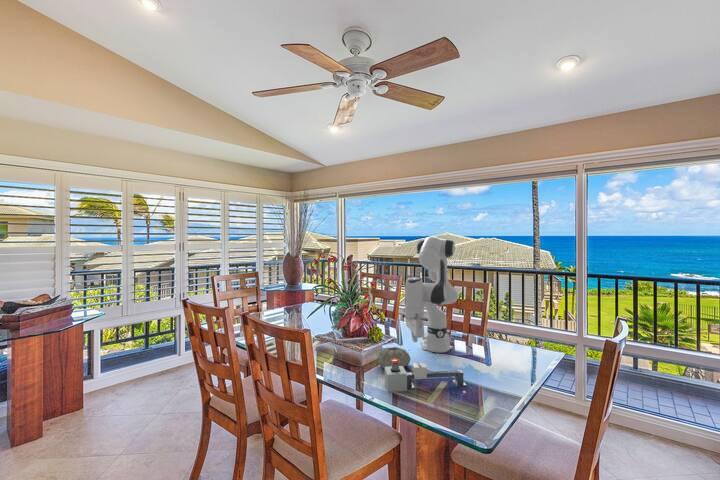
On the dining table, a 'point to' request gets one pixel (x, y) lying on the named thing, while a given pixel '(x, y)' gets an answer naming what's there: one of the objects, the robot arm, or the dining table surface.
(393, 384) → the push button box
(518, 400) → the dining table surface
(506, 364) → the dining table surface
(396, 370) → the button
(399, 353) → the decorative shell
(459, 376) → the rail
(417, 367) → the carriage
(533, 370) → the dining table surface
